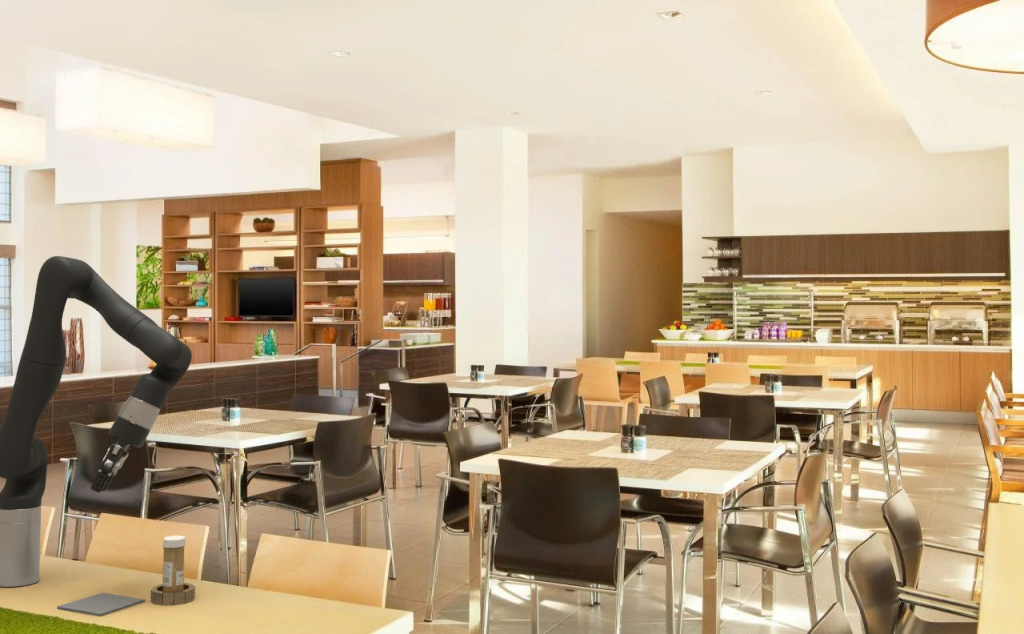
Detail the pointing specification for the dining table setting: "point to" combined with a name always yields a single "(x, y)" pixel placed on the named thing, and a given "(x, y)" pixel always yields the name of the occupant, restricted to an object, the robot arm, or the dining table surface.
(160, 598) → the ring holder
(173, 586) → the sprinkles bottle
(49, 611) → the dining table surface
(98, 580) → the dining table surface
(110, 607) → the rubber mat
